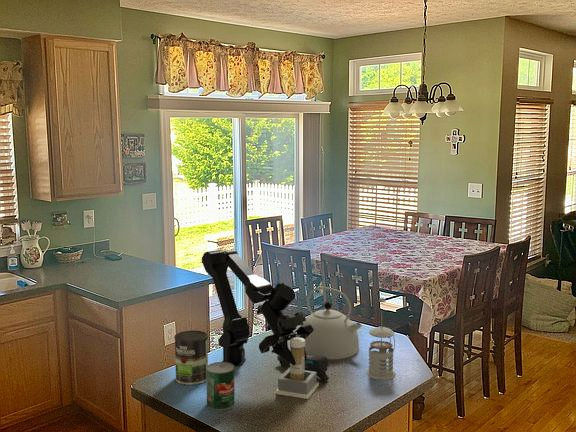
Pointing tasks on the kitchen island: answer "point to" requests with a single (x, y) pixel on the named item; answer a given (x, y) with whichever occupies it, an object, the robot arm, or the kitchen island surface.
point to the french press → (381, 353)
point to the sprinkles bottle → (297, 358)
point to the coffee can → (191, 357)
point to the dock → (297, 384)
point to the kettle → (331, 332)
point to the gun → (312, 365)
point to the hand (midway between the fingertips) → (300, 362)
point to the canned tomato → (220, 385)
